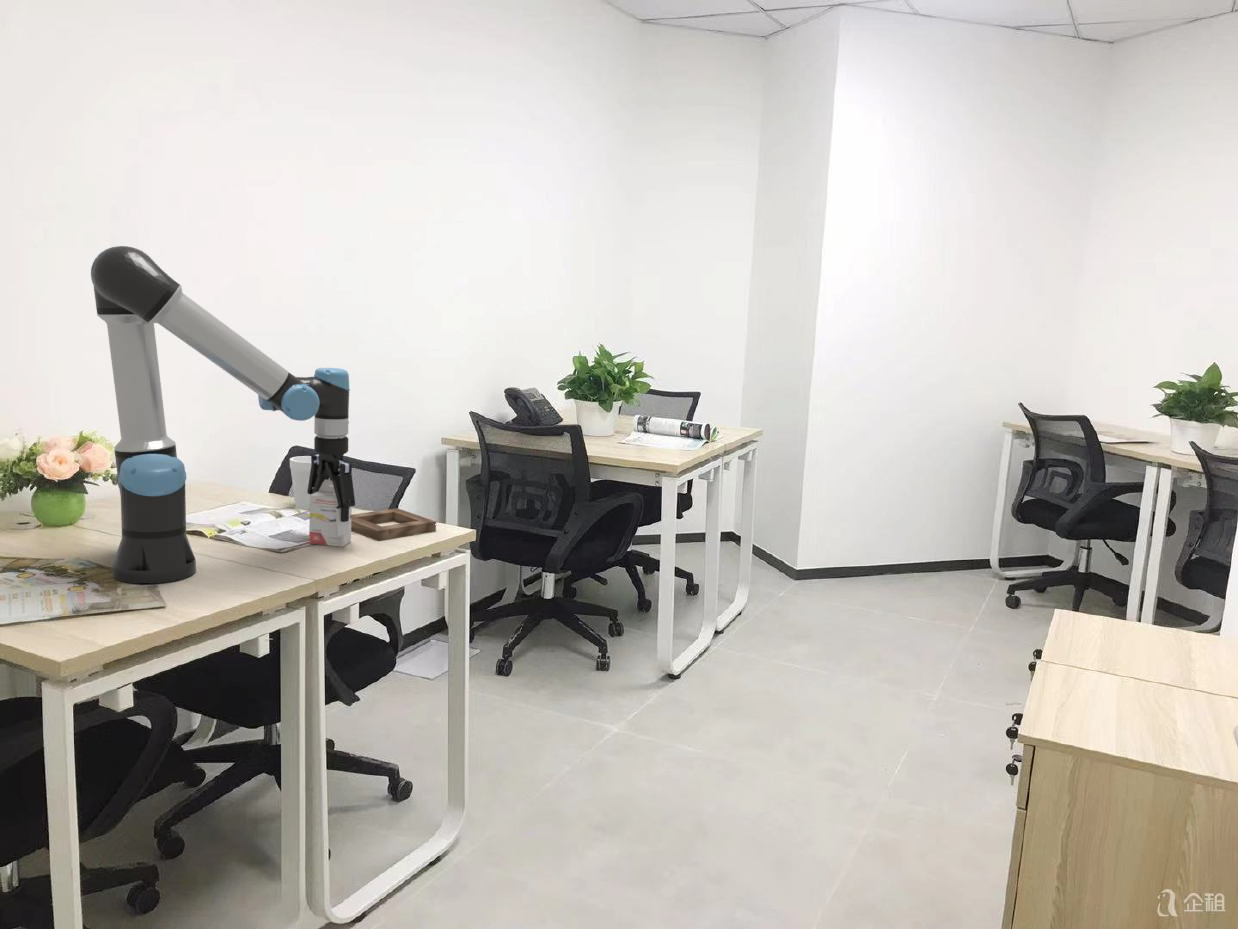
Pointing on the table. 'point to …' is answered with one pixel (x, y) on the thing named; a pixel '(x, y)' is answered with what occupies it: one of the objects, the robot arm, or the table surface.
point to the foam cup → (301, 480)
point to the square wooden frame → (407, 526)
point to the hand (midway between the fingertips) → (330, 530)
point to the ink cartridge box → (326, 518)
